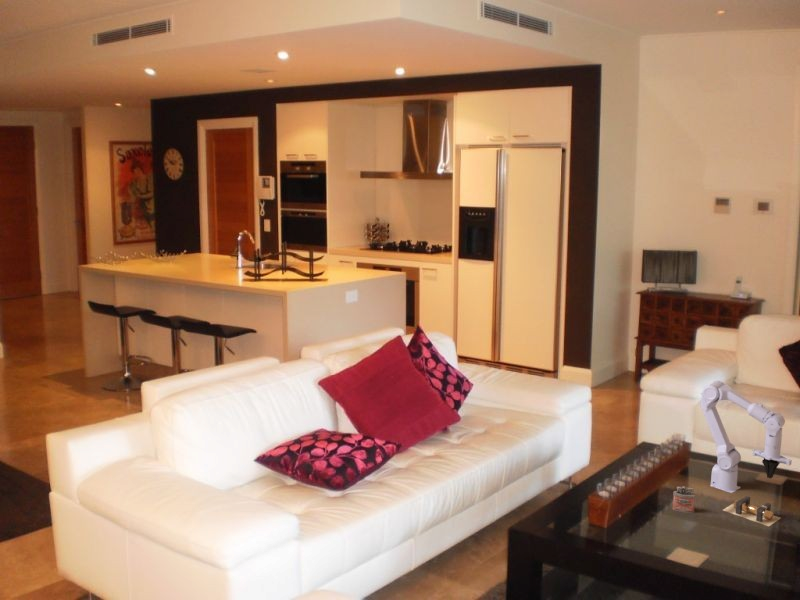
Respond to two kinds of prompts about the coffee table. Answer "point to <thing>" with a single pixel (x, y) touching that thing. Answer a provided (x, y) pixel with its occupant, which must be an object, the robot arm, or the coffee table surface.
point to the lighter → (684, 500)
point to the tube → (755, 510)
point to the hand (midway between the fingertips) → (769, 477)
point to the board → (751, 516)
